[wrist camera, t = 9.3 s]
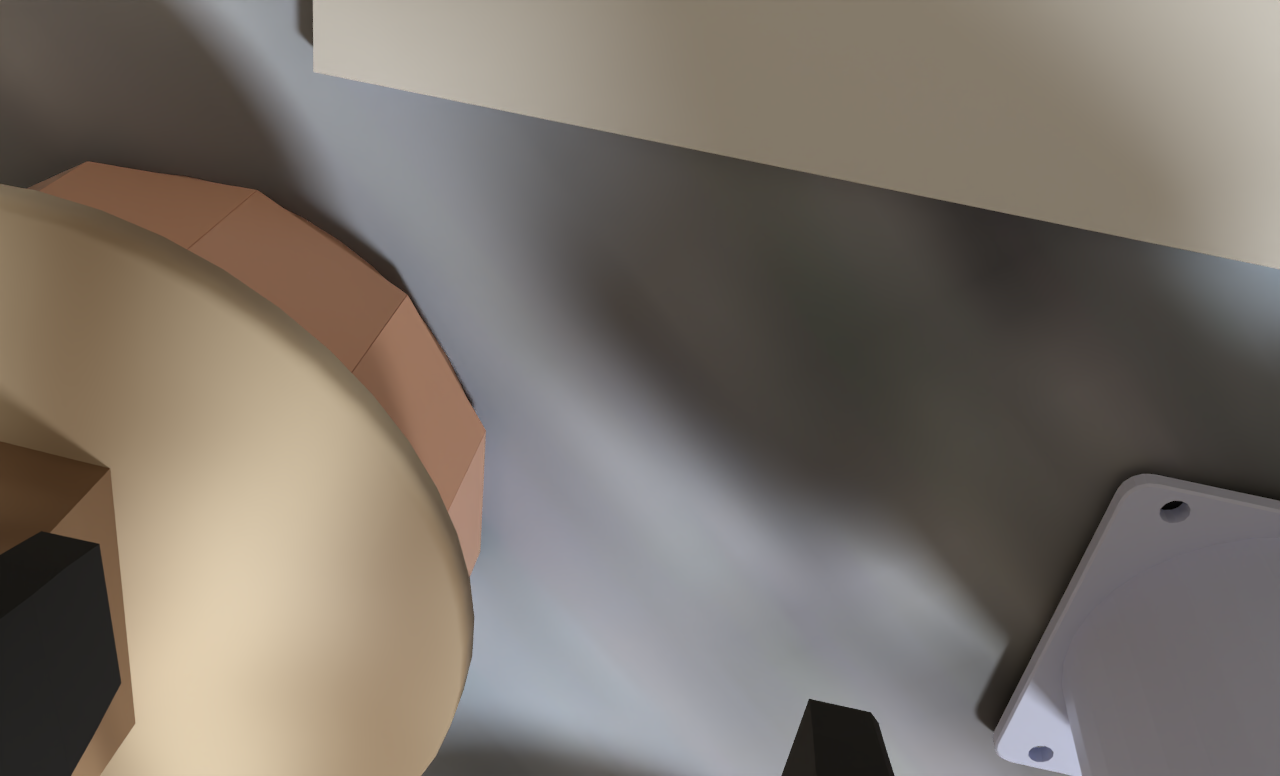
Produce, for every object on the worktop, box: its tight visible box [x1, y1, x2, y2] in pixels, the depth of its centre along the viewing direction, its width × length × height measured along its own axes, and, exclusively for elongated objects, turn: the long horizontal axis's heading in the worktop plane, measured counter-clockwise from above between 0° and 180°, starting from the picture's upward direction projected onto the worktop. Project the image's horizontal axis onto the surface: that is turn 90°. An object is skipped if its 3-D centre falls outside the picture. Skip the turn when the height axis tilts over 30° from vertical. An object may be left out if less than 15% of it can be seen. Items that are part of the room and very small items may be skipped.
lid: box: [0, 184, 474, 776], centre depth 17 cm, size 14×14×4 cm
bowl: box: [26, 161, 486, 577], centre depth 21 cm, size 12×12×5 cm
